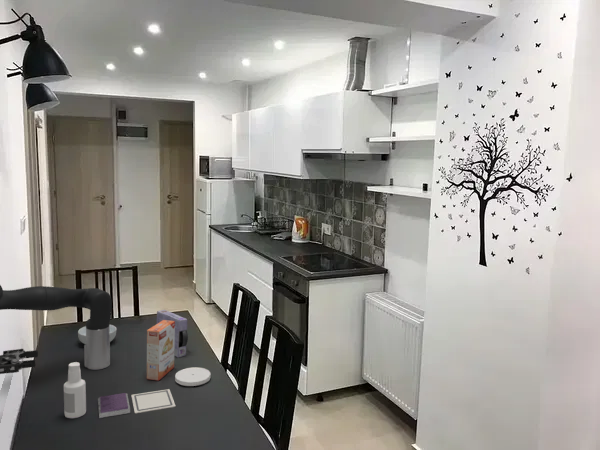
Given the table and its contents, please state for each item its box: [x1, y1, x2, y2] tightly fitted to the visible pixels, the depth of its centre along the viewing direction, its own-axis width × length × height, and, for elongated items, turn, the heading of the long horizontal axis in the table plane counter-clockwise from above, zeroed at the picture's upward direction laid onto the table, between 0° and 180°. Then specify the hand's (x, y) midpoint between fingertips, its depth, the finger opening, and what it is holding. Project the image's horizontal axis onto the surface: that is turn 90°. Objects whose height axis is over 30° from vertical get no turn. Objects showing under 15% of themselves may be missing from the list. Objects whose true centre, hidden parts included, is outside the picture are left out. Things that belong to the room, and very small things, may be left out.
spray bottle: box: [63, 361, 87, 419], centre depth 167 cm, size 7×7×18 cm
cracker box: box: [146, 320, 175, 382], centre depth 200 cm, size 14×6×21 cm, turn 168°
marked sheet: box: [131, 388, 176, 414], centre depth 178 cm, size 14×14×1 cm
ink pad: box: [97, 392, 131, 419], centre depth 173 cm, size 10×12×2 cm
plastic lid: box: [174, 366, 212, 387], centre depth 197 cm, size 14×14×2 cm
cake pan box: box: [156, 309, 189, 359], centre depth 224 cm, size 19×5×18 cm, turn 50°
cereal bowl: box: [77, 324, 118, 345], centre depth 231 cm, size 17×17×7 cm
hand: (36, 358), depth 160 cm, fingers open, 8 cm apart
